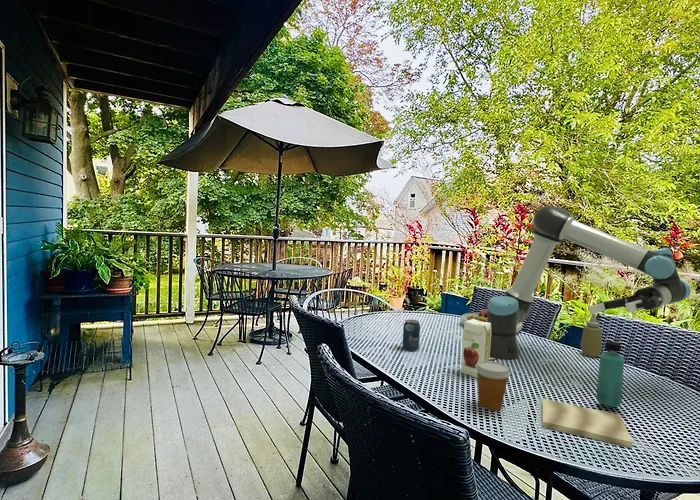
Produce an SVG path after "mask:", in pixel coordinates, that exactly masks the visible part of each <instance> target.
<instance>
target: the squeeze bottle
mask: <svg viewBox="0 0 700 500" xmlns="http://www.w3.org/2000/svg"><path fill="white" fill-rule="evenodd" d="M596 315H597V313H595V314H591V317H590V320H588V321H586V325H585V326H583V331H582V335H581V341H580V350H581V352H582V355H584V356H587V357H590V358H598V357H600V355H601V352H602V350H603V345H602V344H603V340H602V338H603V337H602V336H603V335H602V334H603V333H602V332H603V331H602V328H600V322H599V321H597V316H596Z"/></svg>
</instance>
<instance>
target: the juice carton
mask: <svg viewBox="0 0 700 500" xmlns="http://www.w3.org/2000/svg"><path fill="white" fill-rule="evenodd" d="M490 344H491V323H488V322H481V321H478V320H475V319H471V320H468V321H465V324H463V331H462V345H461V346H462V347H461V359H460V360H461V361H460V367H461V368H460V369H461V373H462V374H465V375H467V376H471V377H473V378H477V379H478V374H477V370H476V367H477V365H478V363H479V362H482V361H490V357H491V356H490Z"/></svg>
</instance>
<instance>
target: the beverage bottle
mask: <svg viewBox="0 0 700 500" xmlns="http://www.w3.org/2000/svg"><path fill="white" fill-rule="evenodd" d="M604 349H605V350H606V351H604V352H602V353H600V354H599V366H598V373H597V376H598V377H597V381H596V382H597V385H596V393H595V394H596V395H595V396H596V401H597V402H598V403H600V404H601V405H603V406H606V407H607V406H608V407H610V408H611V407H612V408H618V407H620V406H621V405H622V401H623V400H622V398H623V388H624V387H623V385H624V368H625V358H624V357H623V356H622V355H621V354H619V352H621V351H622V344H621V343H619V342H614V341H606V342H605V344H604Z"/></svg>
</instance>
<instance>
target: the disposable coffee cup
mask: <svg viewBox="0 0 700 500" xmlns="http://www.w3.org/2000/svg"><path fill="white" fill-rule="evenodd" d="M476 370H477V374H478V378H477V387H478V388H477V389H478V391H477V392H478V404H479V406H480V407H482V408H483V409H486V410H489V411H500V410H501V409H502V407H503V401H504V397H505V393H506V389H507V384H508V380H509V377H510V375H511V372H510V369H509V367H508V365H505V364H503V363H500V362H496V361H492V360H491V361H490V360H489V361H482V362H479V363H478V365H477V367H476Z"/></svg>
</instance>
